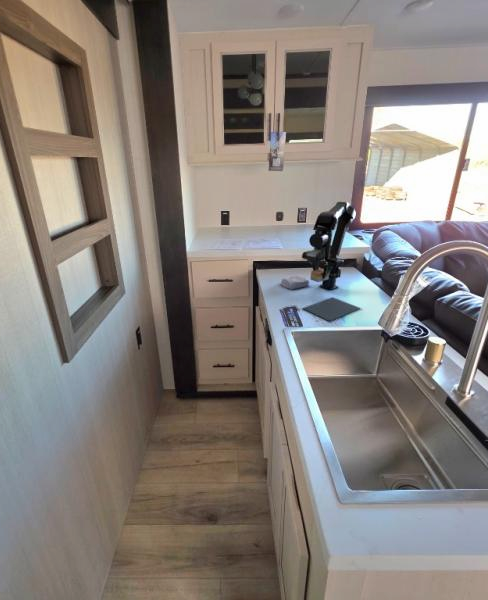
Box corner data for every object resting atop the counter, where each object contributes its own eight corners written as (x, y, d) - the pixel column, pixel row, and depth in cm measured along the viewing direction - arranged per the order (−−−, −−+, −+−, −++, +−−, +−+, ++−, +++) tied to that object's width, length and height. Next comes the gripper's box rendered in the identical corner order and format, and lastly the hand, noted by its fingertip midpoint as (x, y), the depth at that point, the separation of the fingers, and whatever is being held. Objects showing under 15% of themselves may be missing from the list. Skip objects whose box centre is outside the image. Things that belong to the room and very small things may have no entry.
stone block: (278, 287, 161) (291, 290, 152) (278, 278, 160) (291, 280, 151) (297, 284, 166) (310, 286, 157) (297, 275, 165) (310, 277, 156)
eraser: (320, 276, 145) (321, 268, 144) (328, 279, 142) (329, 270, 140) (310, 279, 142) (311, 271, 140) (318, 282, 138) (319, 273, 137)
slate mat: (332, 298, 144) (332, 297, 143) (360, 308, 133) (360, 308, 133) (302, 309, 133) (302, 308, 133) (329, 321, 123) (330, 320, 122)
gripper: (295, 241, 138) (291, 275, 144) (329, 250, 124) (324, 287, 130) (312, 238, 144) (308, 270, 150) (347, 246, 130) (341, 281, 136)
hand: (319, 277), depth 142 cm, fingers closed on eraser, 4 cm apart
